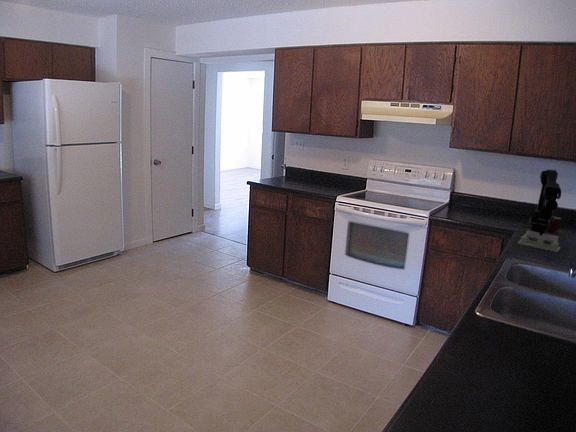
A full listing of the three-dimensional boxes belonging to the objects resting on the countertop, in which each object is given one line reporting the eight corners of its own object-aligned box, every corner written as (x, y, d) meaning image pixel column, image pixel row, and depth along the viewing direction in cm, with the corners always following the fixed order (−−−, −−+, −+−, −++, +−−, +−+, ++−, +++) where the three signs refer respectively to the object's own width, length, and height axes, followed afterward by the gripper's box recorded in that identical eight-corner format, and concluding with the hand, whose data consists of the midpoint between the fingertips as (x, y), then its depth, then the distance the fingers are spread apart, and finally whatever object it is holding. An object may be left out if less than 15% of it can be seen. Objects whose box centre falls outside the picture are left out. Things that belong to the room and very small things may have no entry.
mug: (541, 229, 306) (544, 214, 304) (554, 231, 304) (558, 216, 302) (546, 233, 296) (549, 217, 294) (559, 235, 294) (563, 219, 292)
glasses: (526, 234, 269) (528, 229, 268) (557, 241, 260) (559, 236, 259) (523, 237, 262) (524, 232, 262) (555, 244, 253) (556, 239, 252)
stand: (522, 240, 272) (523, 233, 271) (560, 248, 260) (562, 242, 259) (517, 243, 264) (519, 236, 263) (557, 252, 252) (558, 245, 251)
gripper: (535, 202, 270) (530, 228, 274) (528, 206, 256) (522, 233, 259) (557, 206, 264) (551, 232, 267) (551, 210, 249) (545, 238, 253)
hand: (542, 234), depth 262 cm, fingers open, 9 cm apart
